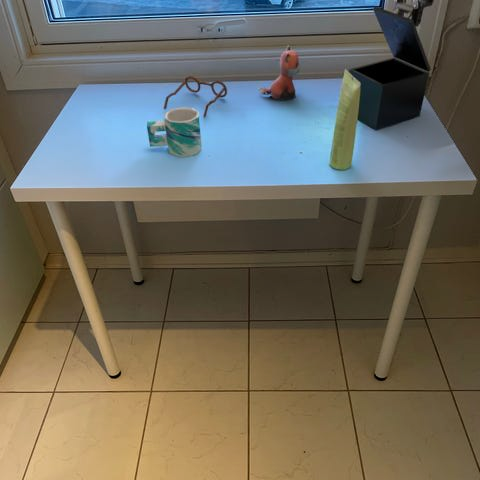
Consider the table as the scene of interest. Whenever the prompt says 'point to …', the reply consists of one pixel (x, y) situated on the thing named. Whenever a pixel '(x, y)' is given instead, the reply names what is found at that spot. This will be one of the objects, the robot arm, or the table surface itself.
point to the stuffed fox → (284, 77)
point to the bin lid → (402, 35)
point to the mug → (177, 132)
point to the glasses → (198, 91)
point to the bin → (389, 92)
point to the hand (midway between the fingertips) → (405, 22)
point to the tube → (345, 123)
